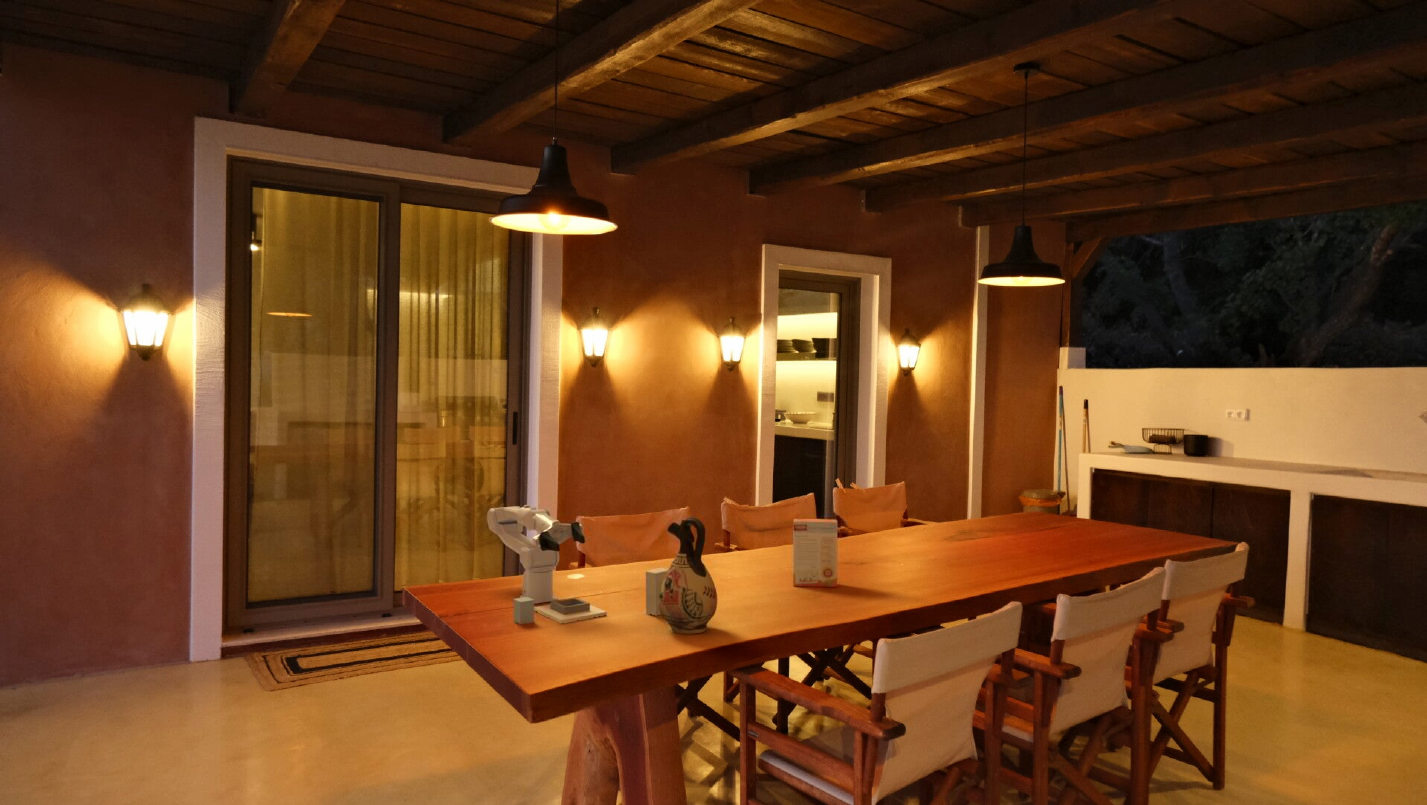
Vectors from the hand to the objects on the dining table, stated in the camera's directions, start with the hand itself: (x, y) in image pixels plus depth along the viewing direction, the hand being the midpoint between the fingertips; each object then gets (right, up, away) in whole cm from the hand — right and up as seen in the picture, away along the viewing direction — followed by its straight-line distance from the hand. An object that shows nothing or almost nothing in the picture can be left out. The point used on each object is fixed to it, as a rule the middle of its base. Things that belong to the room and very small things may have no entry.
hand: (571, 543), depth 244 cm
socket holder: (-1, -20, +3) cm, 20 cm away
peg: (-12, -20, -6) cm, 24 cm away
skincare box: (+24, -20, +4) cm, 31 cm away
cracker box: (+71, -19, +39) cm, 84 cm away
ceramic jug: (+33, -21, -13) cm, 41 cm away
